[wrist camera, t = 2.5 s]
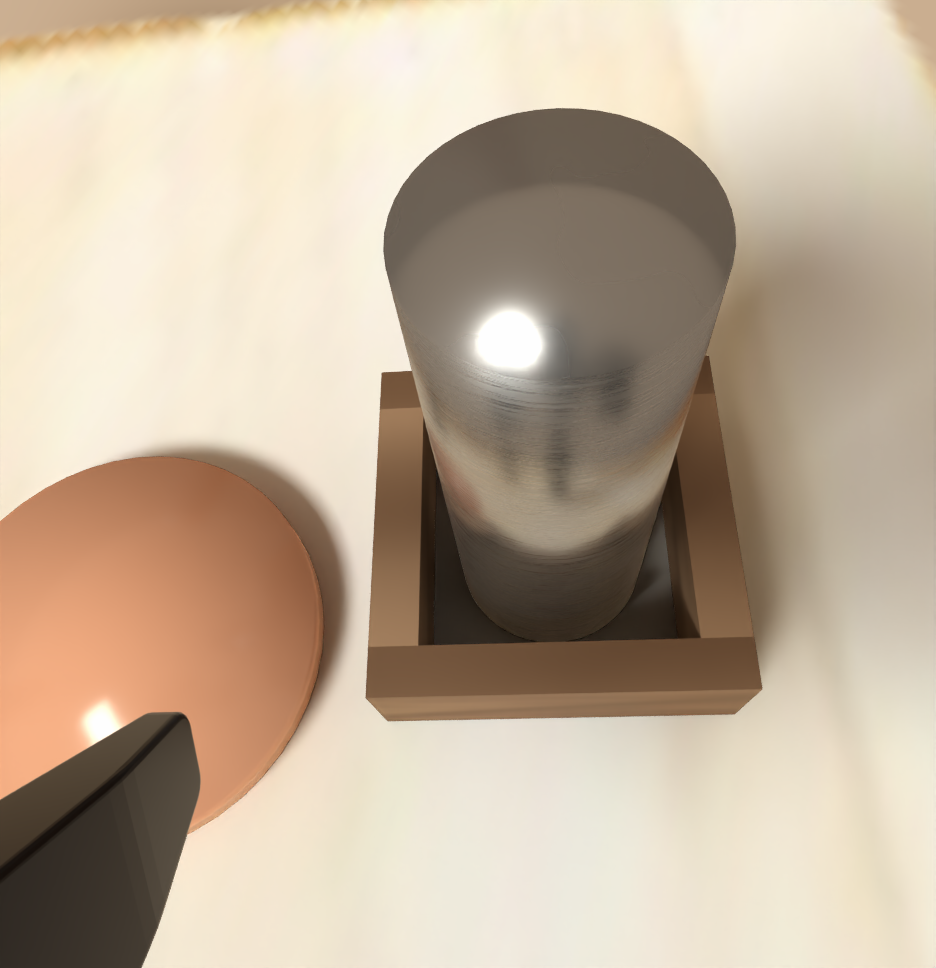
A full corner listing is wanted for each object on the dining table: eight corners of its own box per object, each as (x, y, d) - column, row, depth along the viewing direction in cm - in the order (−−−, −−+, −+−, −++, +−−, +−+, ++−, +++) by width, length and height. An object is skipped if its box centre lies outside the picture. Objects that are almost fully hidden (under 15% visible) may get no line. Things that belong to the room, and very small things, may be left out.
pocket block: (734, 714, 21) (762, 688, 18) (387, 720, 22) (365, 697, 19) (691, 412, 25) (708, 356, 22) (398, 426, 26) (381, 372, 23)
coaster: (97, 961, 20) (76, 964, 19) (-133, 670, 24) (-159, 662, 23) (404, 618, 23) (398, 607, 22) (158, 410, 27) (144, 393, 26)
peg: (565, 680, 22) (591, 446, 10) (426, 568, 24) (312, 259, 12) (674, 544, 23) (805, 201, 12) (536, 447, 25) (529, 65, 13)
